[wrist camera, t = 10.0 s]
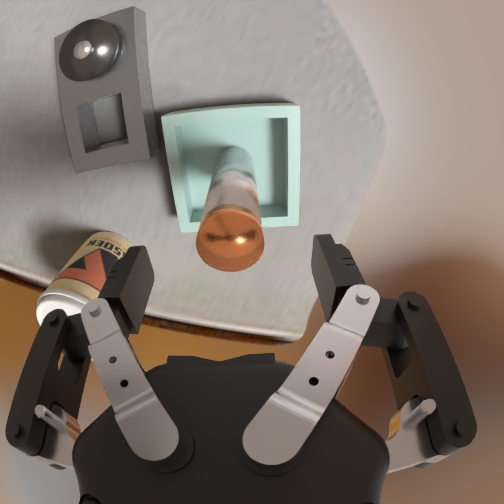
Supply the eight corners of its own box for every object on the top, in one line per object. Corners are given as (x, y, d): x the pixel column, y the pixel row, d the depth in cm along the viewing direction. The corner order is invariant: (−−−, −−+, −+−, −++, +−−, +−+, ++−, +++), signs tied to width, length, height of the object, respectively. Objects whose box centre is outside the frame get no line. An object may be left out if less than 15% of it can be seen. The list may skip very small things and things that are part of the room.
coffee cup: (157, 246, 30) (126, 330, 21) (134, 296, 35) (109, 372, 25) (87, 211, 27) (32, 281, 18) (75, 267, 32) (35, 335, 22)
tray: (169, 112, 22) (161, 116, 20) (293, 102, 22) (300, 105, 20) (186, 217, 28) (181, 232, 26) (293, 210, 28) (298, 225, 26)
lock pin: (214, 147, 24) (190, 217, 13) (252, 145, 24) (263, 212, 13) (217, 182, 26) (201, 273, 15) (254, 179, 26) (265, 269, 15)
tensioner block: (71, 38, 16) (43, 37, 12) (145, 12, 16) (125, 1, 12) (89, 163, 24) (66, 180, 20) (159, 149, 24) (143, 165, 20)
